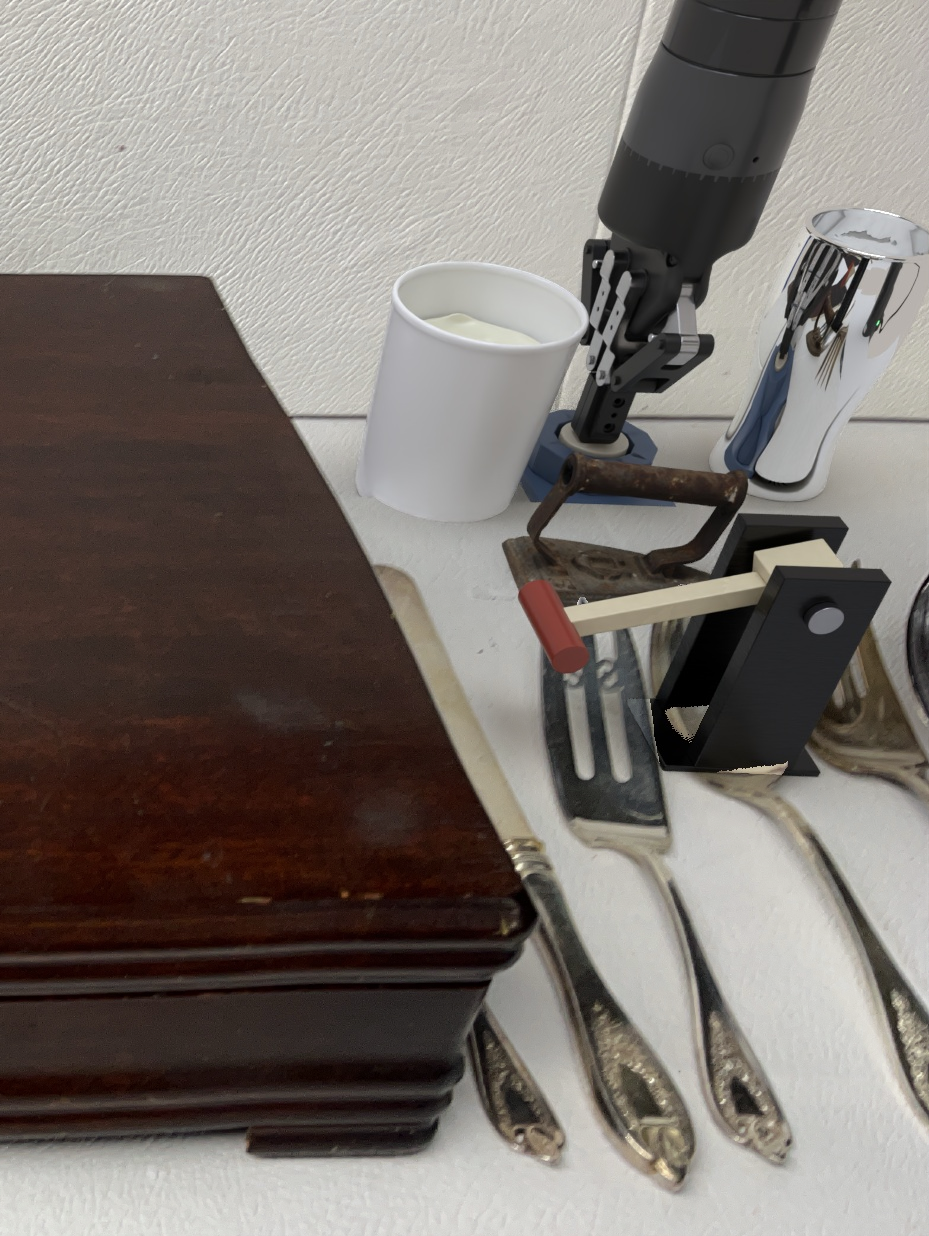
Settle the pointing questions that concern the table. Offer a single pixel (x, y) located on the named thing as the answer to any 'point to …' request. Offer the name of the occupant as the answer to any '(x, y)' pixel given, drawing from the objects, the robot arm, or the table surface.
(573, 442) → the button
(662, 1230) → the table surface
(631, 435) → the button block
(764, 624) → the switch bracket
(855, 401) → the beer glass
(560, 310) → the candle holder
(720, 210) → the robot arm
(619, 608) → the switch lever
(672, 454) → the table surface
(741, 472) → the clothes iron
